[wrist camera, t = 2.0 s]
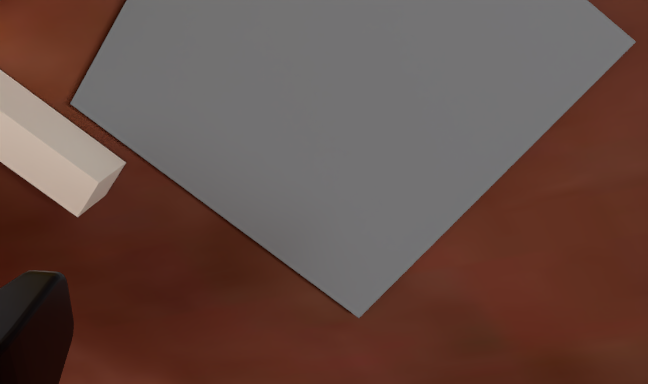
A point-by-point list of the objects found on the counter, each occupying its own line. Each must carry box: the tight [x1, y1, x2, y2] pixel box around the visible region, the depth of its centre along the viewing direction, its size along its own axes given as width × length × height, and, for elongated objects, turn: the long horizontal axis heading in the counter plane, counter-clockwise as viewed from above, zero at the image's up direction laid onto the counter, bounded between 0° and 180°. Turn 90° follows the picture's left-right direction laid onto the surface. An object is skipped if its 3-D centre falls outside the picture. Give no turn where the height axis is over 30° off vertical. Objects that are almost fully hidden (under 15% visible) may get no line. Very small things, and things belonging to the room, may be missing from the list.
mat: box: [70, 0, 635, 318], centre depth 18 cm, size 12×12×1 cm
